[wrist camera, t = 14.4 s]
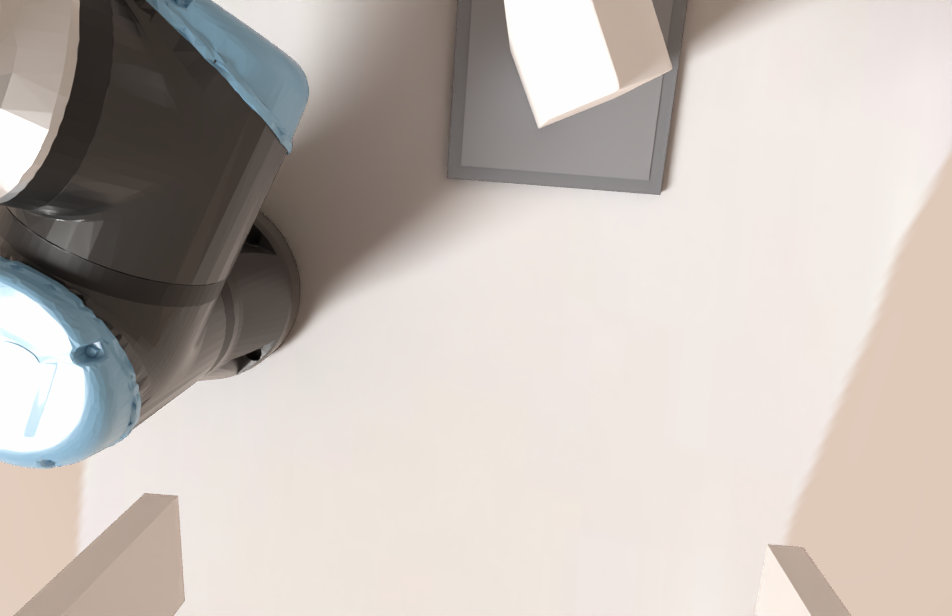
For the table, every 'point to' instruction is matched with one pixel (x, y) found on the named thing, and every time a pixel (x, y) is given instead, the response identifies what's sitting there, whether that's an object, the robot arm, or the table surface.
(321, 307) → the table surface
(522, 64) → the milk
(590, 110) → the mat
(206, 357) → the robot arm
